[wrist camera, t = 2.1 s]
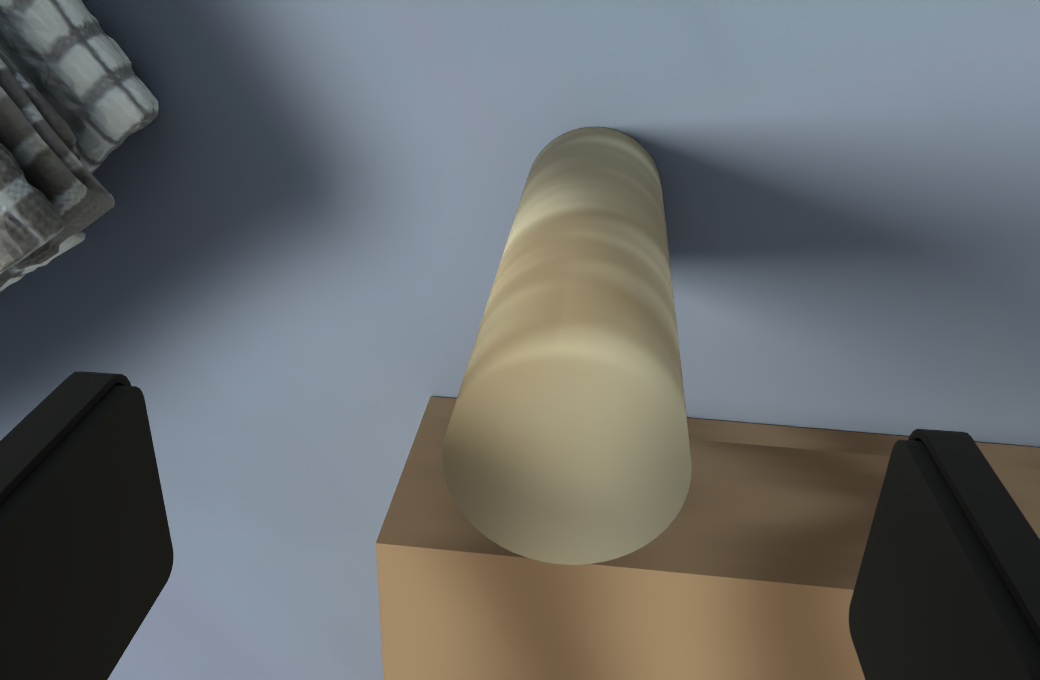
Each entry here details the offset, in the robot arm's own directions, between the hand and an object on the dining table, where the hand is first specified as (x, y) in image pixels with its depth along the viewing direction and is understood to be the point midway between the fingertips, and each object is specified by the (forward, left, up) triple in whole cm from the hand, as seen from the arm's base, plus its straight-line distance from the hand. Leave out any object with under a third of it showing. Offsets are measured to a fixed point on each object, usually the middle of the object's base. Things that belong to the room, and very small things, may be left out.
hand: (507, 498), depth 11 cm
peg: (-1, 0, -11) cm, 11 cm away
